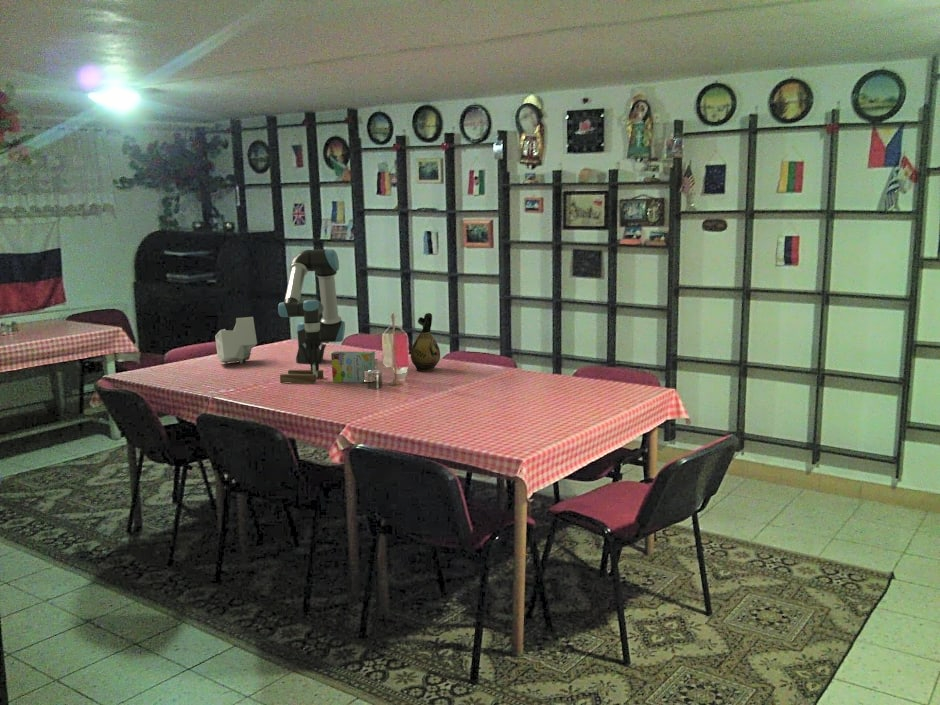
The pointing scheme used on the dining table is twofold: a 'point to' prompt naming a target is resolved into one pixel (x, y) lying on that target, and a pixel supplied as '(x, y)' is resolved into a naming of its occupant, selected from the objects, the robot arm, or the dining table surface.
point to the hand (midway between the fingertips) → (315, 377)
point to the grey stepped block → (236, 341)
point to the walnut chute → (301, 376)
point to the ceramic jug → (425, 347)
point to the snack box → (351, 365)
